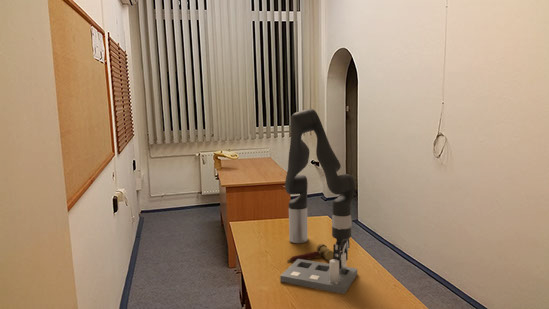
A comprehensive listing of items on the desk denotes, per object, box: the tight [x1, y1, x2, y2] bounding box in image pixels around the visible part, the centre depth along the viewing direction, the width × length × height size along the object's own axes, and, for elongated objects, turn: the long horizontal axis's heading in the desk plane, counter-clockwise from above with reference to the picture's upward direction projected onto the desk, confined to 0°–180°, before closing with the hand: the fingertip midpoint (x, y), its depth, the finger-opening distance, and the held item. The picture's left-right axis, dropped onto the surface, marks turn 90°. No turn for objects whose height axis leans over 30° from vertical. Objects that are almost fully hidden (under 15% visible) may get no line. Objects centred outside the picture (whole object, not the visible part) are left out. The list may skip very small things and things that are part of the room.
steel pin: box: [337, 252, 347, 275], centre depth 162 cm, size 4×4×10 cm
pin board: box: [279, 259, 358, 295], centre depth 162 cm, size 18×26×10 cm
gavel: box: [286, 243, 333, 263], centre depth 182 cm, size 21×5×10 cm
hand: (341, 264), depth 162 cm, fingers open, 8 cm apart
